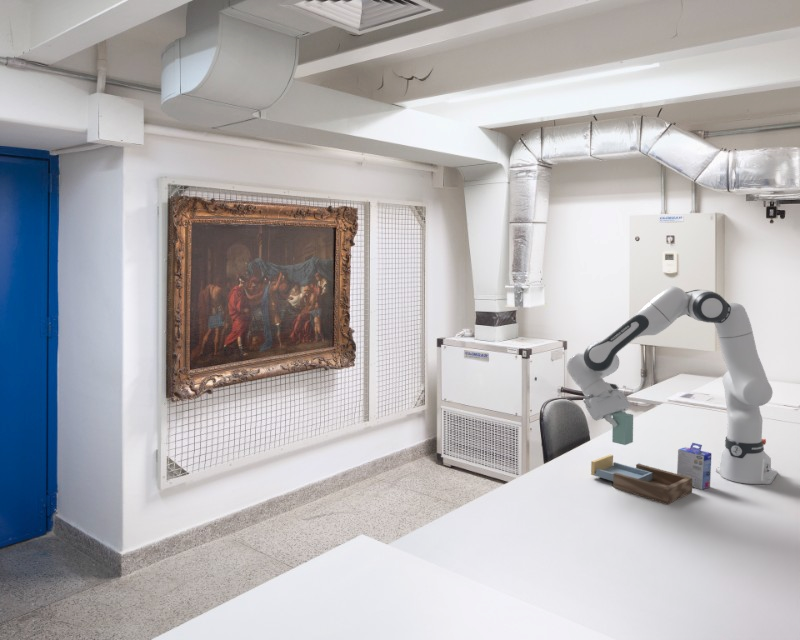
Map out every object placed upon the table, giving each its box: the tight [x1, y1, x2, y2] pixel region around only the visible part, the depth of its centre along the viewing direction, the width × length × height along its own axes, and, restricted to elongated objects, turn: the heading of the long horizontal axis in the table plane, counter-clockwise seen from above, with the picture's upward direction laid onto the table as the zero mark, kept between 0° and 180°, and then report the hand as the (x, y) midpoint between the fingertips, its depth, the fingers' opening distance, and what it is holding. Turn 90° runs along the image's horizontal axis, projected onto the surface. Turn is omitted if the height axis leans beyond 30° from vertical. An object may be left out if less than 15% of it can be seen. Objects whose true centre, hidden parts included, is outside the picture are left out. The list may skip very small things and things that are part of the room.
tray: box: [590, 454, 653, 482], centre depth 232 cm, size 12×17×5 cm
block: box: [611, 412, 634, 446], centre depth 230 cm, size 5×5×10 cm
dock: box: [612, 463, 693, 505], centre depth 223 cm, size 16×20×5 cm
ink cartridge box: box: [676, 442, 712, 490], centre depth 227 cm, size 10×6×14 cm, turn 37°
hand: (622, 424), depth 230 cm, fingers closed on block, 5 cm apart
